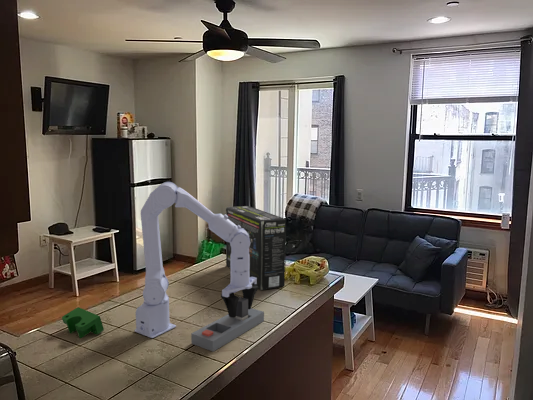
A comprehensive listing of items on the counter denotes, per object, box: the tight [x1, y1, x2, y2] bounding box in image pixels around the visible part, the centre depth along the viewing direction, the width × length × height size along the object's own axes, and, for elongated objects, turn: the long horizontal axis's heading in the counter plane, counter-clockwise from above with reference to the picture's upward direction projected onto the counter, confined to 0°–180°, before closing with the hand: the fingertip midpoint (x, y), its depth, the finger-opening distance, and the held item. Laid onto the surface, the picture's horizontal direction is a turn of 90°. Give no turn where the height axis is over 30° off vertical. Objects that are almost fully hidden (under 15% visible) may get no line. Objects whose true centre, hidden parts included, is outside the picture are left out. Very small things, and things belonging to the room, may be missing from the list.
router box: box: [225, 205, 287, 291], centre depth 180 cm, size 36×11×27 cm, turn 27°
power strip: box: [190, 307, 265, 352], centre depth 130 cm, size 24×8×4 cm, turn 145°
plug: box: [232, 295, 248, 321], centre depth 134 cm, size 3×4×8 cm
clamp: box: [61, 306, 105, 339], centre depth 129 cm, size 12×6×9 cm, turn 48°
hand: (240, 312), depth 134 cm, fingers open, 7 cm apart
